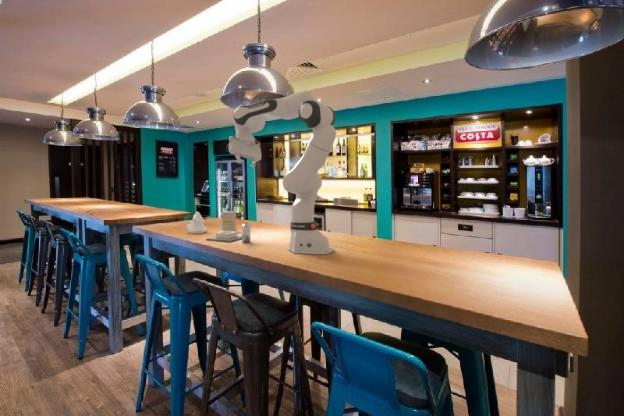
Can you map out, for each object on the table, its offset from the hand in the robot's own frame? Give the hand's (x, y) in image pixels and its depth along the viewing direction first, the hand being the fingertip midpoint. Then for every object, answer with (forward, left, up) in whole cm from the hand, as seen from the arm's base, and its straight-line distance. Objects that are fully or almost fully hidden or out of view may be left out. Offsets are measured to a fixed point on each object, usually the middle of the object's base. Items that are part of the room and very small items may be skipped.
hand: (246, 164), depth 187 cm
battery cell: (+3, -3, -42) cm, 43 cm away
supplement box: (+35, -32, -43) cm, 63 cm away
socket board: (+19, -7, -42) cm, 47 cm away
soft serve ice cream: (+52, -21, -43) cm, 70 cm away
